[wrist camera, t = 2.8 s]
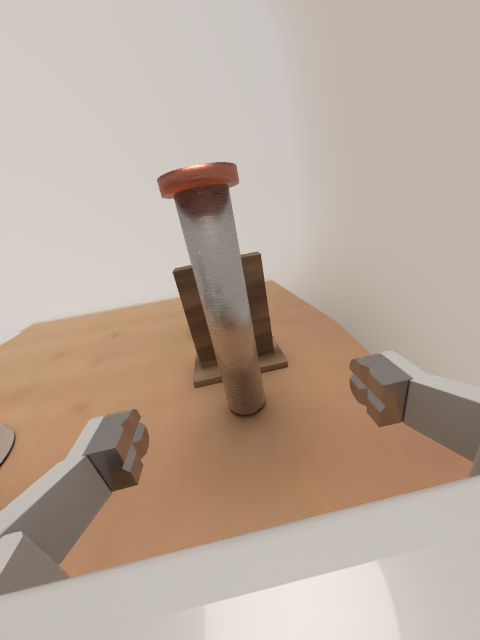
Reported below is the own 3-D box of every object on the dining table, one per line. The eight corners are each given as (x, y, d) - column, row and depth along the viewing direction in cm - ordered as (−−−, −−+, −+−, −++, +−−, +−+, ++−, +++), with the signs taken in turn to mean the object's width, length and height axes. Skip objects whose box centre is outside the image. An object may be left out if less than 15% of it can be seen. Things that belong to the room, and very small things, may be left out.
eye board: (287, 366, 29) (275, 254, 23) (194, 387, 29) (159, 278, 23) (273, 340, 36) (261, 247, 30) (197, 357, 35) (170, 266, 29)
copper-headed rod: (279, 413, 22) (241, 156, 14) (222, 426, 22) (148, 173, 13) (252, 341, 36) (225, 189, 27) (217, 349, 35) (178, 198, 27)
